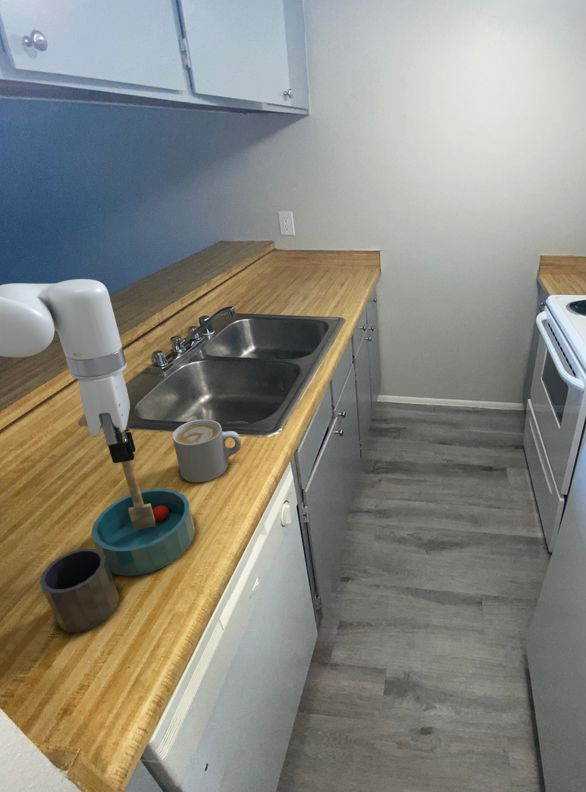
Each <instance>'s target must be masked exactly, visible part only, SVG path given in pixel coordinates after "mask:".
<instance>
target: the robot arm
mask: <svg viewBox="0 0 586 792" xmlns="http://www.w3.org/2000/svg"><path fill="white" fill-rule="evenodd" d="M55 333H57V334H58V338H59V341H60V344H61V347H62V350H63V353H64V356H65V359H66V362H67V367H68V369H69V372H70V376H71V377H72V378H73V379H76V380H77V381H78V382H77V383H78V389H79V394H80V395H79V396H80V400H81V404H82V408H83V412H84V416H85V420H86V424H87V428H88V433H89V435H90V436H91V437H93V438H96V437H99V435H100V431H101V428H102V431H103V435H104V439H105V442H106V446H107V447H108V450H109V455H110V458H111V460H112V463H113V464H119V463H120V464H121V462H125V461H131V460H132V461H133V460H135V454H134V453H135V452H136V445H135V442H134V439H133V434H132V431H130V425H129V416H130V415H129V414H130V409H131V405H130V404H131V402H130V397H129V393H128V392H129V391H128V389H127V385H126V382H125V381H126V380H125V377H124V375H123V371H124V370H126V368H127V367H128V364H127V359H126V356H125V352H124V348H123V344H122V340H121V336H120V332H119V329H118V325H117V321H116V316H115V313H114V309H113V305H112V302H111V297H110V294H109V290H108V288H107V286H106V285H105V284H103V282H101V281H99V280H96V279H90V278H75V279H67V280H63V281H59V282H56V283H25V282H24V283H4V284H1V285H0V357H4V358H27V357H31V356H35V355H37V354H40V353H42V352H43V351H45V350H46V349H47V348H49V346H50V345H51V344H52V341H53V339H54V337H55ZM115 432H120V434H121V435H120V434H115Z"/></svg>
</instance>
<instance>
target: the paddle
mask: <svg viewBox="0 0 586 792" xmlns="http://www.w3.org/2000/svg"><path fill="white" fill-rule="evenodd" d="M115 434H120V432H115ZM120 435H121V434H120ZM120 464H121V468H122V471H123V473H124V478H125V480H126V484H127V487H128V491H129V495H131V498H132V501H133V504H134V507H131V508H129V510H128V511H129V514H130V518H131V521H132V524H133V528H134V531H136V530H140V529H144V528H149V527H153V526H156V522H155V518H154V514H153V511H152V507H151V504H145V505H144V502H143V499H142V495H141V492H140V491H141V488H140V484H139V482H138V478H137V475H136V471H135V470H136V469H135V467H134V462H133V460H131V461H125V462H120Z"/></svg>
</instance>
